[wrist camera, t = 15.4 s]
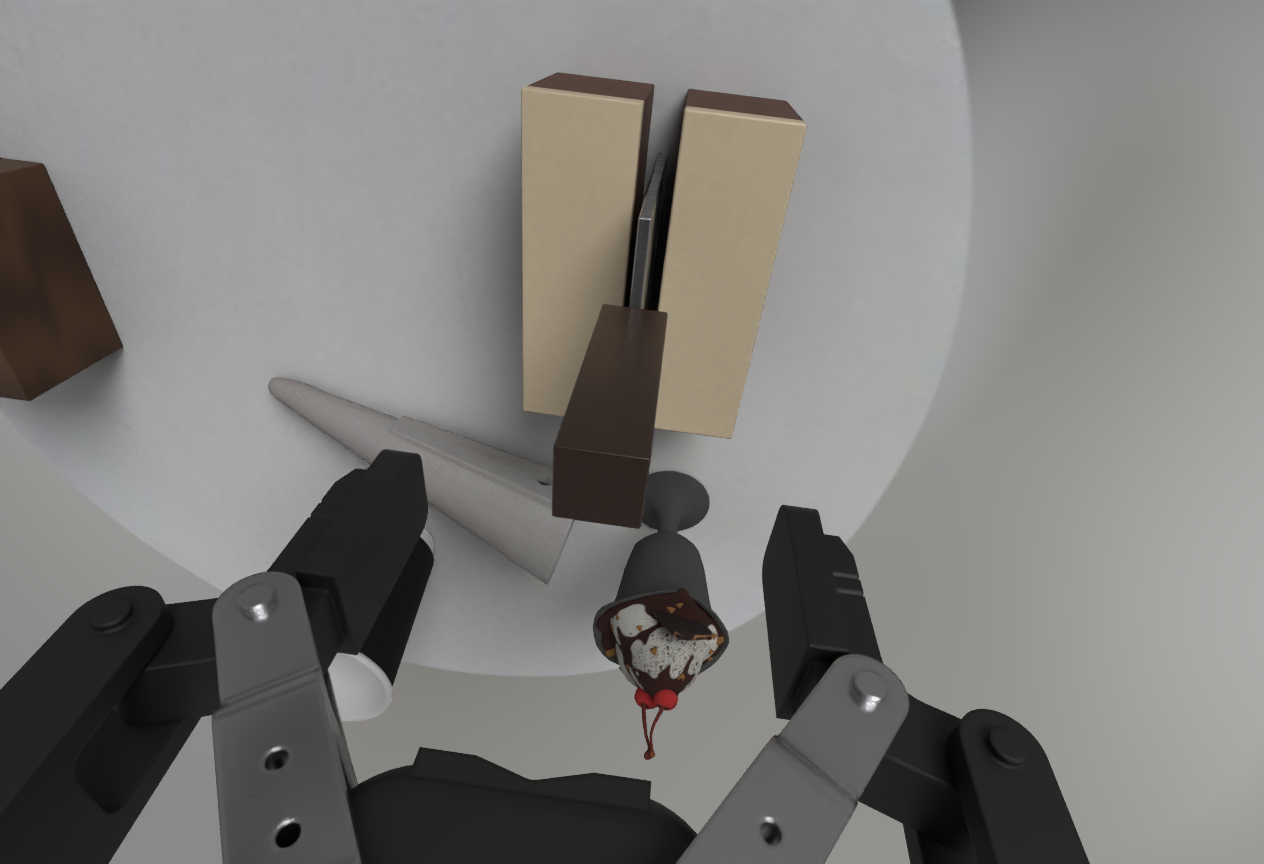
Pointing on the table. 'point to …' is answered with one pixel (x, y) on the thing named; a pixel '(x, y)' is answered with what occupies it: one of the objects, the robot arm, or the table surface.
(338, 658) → the dixie cup
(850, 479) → the table surface
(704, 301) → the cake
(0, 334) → the knife stand
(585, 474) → the knife
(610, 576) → the table surface
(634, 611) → the sundae
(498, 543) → the long tapered cone
